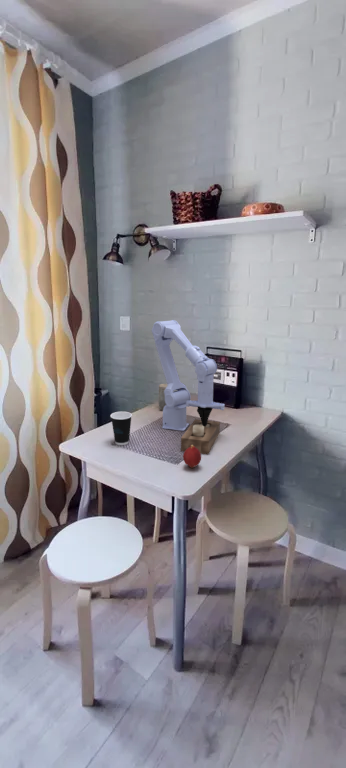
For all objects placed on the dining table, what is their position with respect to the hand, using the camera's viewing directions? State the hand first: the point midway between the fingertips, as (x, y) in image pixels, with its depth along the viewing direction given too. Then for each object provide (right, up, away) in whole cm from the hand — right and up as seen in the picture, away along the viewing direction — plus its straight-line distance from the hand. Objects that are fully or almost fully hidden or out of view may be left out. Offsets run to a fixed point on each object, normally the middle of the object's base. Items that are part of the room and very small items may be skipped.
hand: (204, 425), depth 150 cm
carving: (-16, +4, +33) cm, 37 cm away
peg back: (0, -4, +1) cm, 4 cm away
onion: (-6, -11, -23) cm, 27 cm away
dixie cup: (-31, -6, -4) cm, 32 cm away
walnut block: (-2, -6, -3) cm, 7 cm away
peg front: (-3, -4, -9) cm, 10 cm away
